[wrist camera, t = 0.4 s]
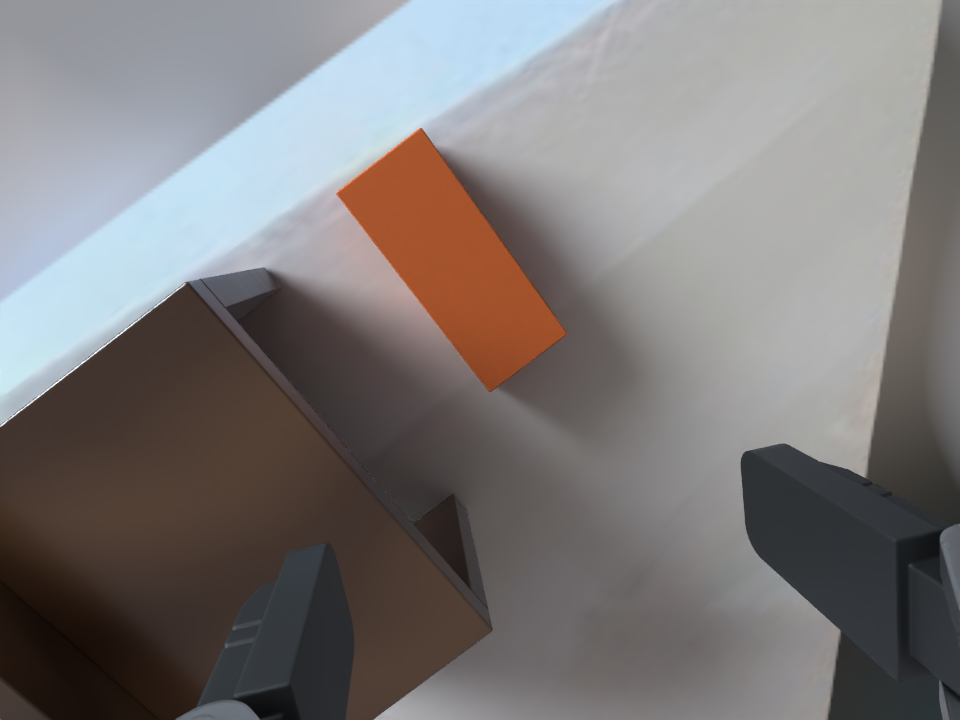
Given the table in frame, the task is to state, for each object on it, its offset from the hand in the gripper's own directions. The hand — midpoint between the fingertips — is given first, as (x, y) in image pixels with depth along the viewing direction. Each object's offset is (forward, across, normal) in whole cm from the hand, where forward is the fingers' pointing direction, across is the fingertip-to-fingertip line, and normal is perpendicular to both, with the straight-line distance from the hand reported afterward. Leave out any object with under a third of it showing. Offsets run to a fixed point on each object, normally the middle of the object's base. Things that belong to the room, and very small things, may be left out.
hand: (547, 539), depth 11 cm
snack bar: (+19, 0, -4) cm, 19 cm away
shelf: (+19, +10, +4) cm, 22 cm away
